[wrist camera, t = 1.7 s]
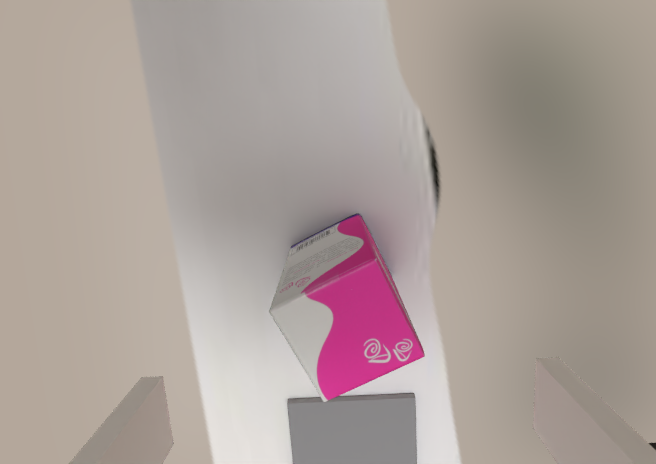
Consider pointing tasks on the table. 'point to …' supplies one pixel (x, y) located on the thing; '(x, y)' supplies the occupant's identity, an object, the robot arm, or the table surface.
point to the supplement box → (343, 310)
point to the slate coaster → (354, 430)
